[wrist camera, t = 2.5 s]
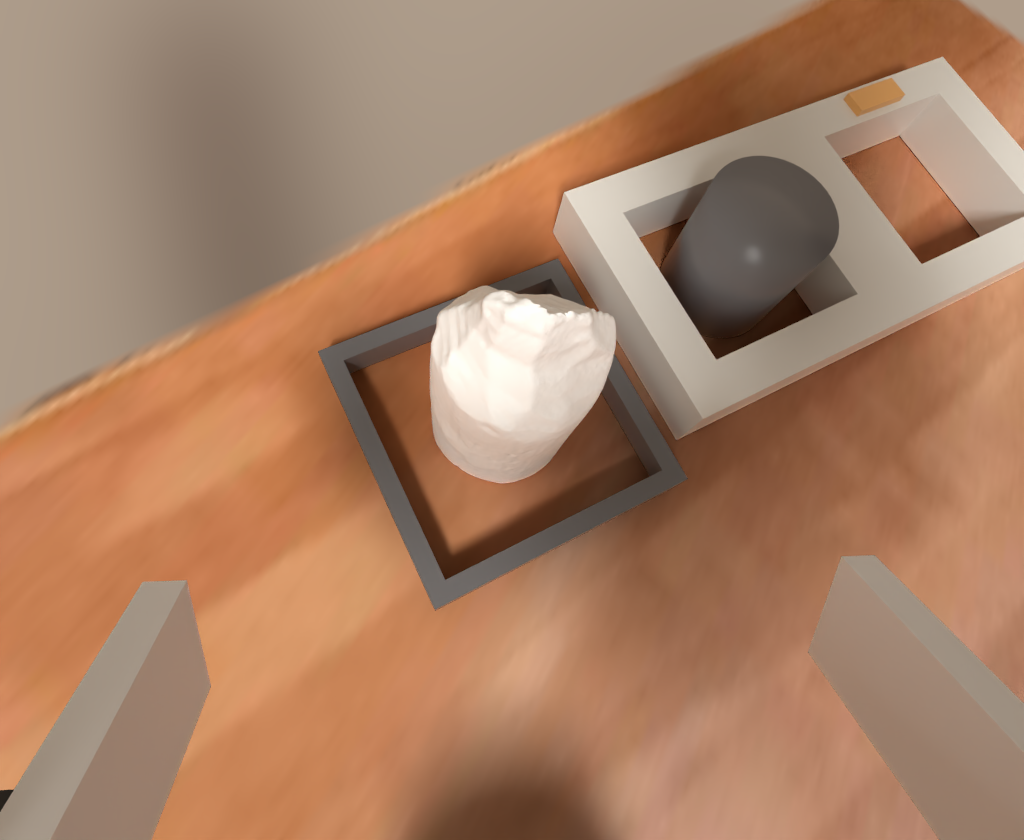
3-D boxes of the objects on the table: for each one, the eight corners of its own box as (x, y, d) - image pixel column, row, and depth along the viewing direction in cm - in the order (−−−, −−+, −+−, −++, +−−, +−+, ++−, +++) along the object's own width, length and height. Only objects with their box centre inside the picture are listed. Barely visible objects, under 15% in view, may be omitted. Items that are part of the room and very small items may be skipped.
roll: (635, 192, 17) (673, 376, 16) (557, 364, 29) (574, 482, 27) (420, 195, 17) (435, 391, 15) (426, 371, 28) (435, 494, 26)
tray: (674, 486, 27) (687, 479, 26) (435, 610, 25) (434, 609, 23) (552, 275, 30) (557, 258, 29) (324, 365, 27) (318, 351, 26)
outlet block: (1035, 262, 34) (1155, 188, 28) (676, 440, 28) (736, 392, 22) (903, 100, 37) (988, 4, 31) (552, 232, 31) (578, 143, 25)
